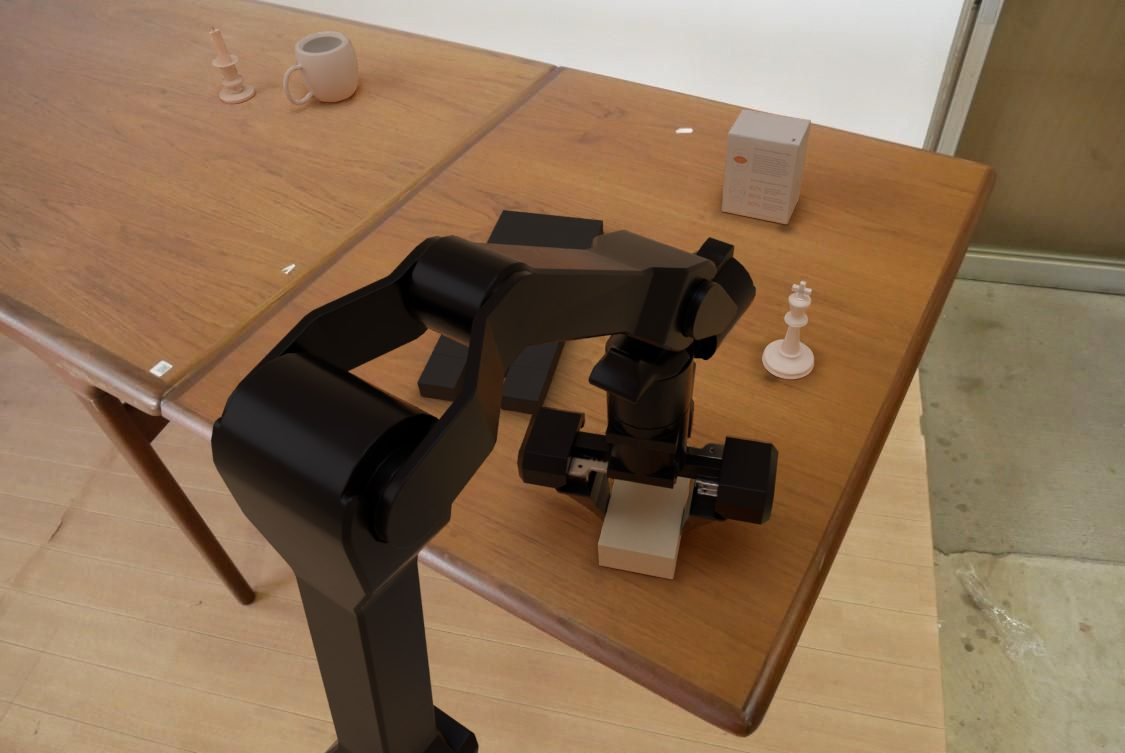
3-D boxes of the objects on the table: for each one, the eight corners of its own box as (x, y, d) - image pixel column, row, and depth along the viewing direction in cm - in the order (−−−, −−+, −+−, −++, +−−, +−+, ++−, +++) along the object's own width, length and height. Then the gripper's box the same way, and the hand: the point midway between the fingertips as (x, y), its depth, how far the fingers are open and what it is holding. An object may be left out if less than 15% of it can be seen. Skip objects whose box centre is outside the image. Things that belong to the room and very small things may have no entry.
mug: (341, 73, 128) (327, 23, 122) (376, 90, 124) (363, 38, 118) (275, 106, 122) (257, 54, 117) (309, 125, 118) (293, 72, 112)
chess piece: (772, 337, 84) (786, 259, 77) (820, 353, 82) (839, 274, 75) (754, 369, 81) (766, 291, 74) (803, 386, 80) (821, 307, 72)
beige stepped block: (673, 580, 66) (674, 558, 64) (598, 565, 68) (597, 544, 65) (694, 465, 74) (696, 442, 71) (627, 454, 75) (627, 431, 73)
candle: (213, 97, 125) (186, 29, 118) (242, 83, 128) (217, 15, 120) (233, 107, 123) (207, 38, 115) (262, 92, 125) (239, 23, 118)
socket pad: (539, 415, 79) (537, 401, 78) (420, 396, 82) (416, 382, 80) (603, 234, 97) (603, 220, 96) (504, 223, 100) (502, 209, 98)
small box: (799, 199, 100) (813, 119, 92) (787, 226, 96) (801, 145, 89) (733, 186, 102) (742, 107, 94) (719, 212, 99) (727, 132, 91)
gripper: (796, 334, 61) (770, 465, 72) (547, 302, 65) (559, 431, 76) (784, 454, 53) (757, 579, 65) (505, 410, 57) (525, 534, 69)
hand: (645, 523), depth 69 cm, fingers closed on beige stepped block, 6 cm apart
